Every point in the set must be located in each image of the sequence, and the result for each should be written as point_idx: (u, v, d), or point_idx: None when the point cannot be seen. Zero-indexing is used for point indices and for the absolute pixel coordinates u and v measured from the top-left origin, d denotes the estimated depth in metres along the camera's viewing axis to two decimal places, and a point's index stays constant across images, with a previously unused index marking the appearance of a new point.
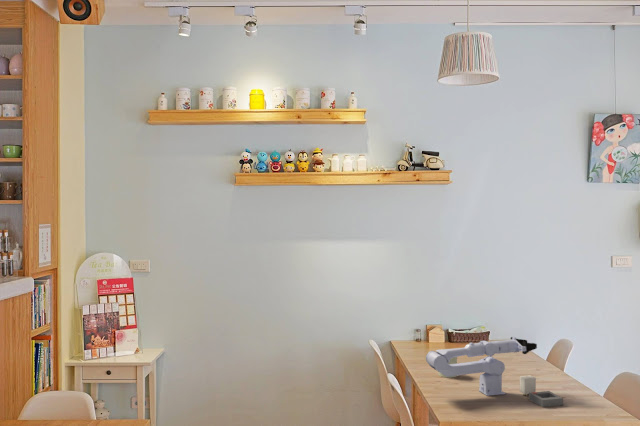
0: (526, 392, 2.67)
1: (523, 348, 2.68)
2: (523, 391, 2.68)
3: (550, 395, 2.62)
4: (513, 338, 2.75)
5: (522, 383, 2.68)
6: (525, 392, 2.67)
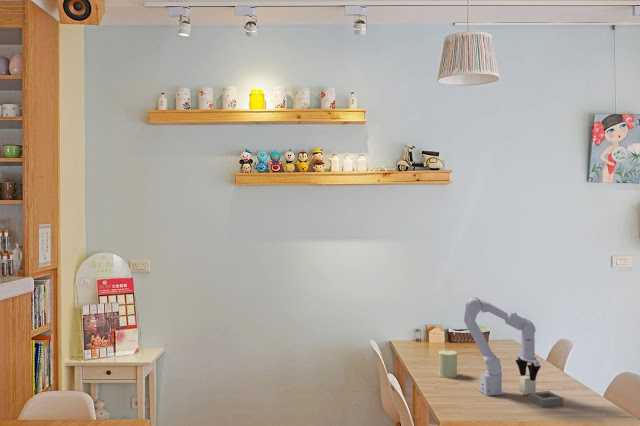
0: (526, 392, 2.67)
1: (538, 362, 2.62)
2: (523, 391, 2.68)
3: (550, 395, 2.62)
4: None
5: (522, 383, 2.68)
6: (525, 392, 2.67)
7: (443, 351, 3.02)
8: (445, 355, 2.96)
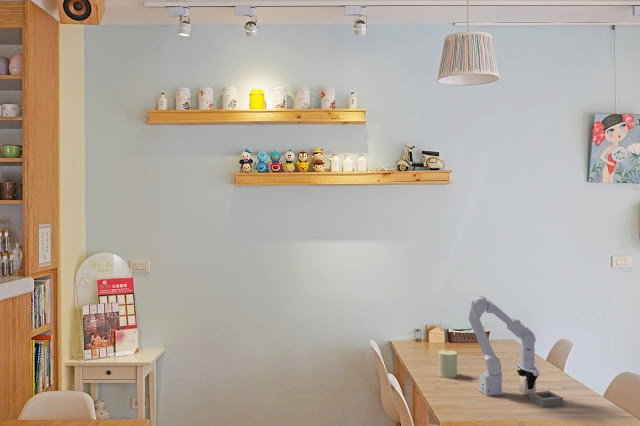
0: (526, 392, 2.67)
1: (537, 372, 2.62)
2: (523, 391, 2.68)
3: (550, 395, 2.62)
4: (534, 366, 2.70)
5: (522, 383, 2.68)
6: (525, 392, 2.67)
7: (443, 351, 3.02)
8: (445, 355, 2.96)
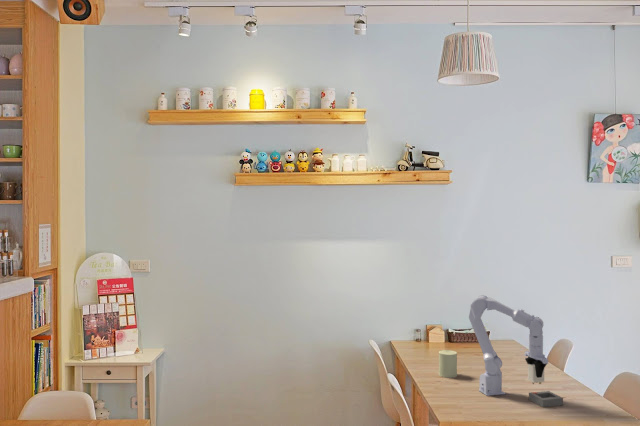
0: (535, 380, 2.62)
1: (546, 360, 2.57)
2: (531, 380, 2.63)
3: (550, 395, 2.62)
4: (542, 354, 2.65)
5: (531, 371, 2.63)
6: (534, 380, 2.62)
7: (443, 351, 3.02)
8: (445, 355, 2.96)
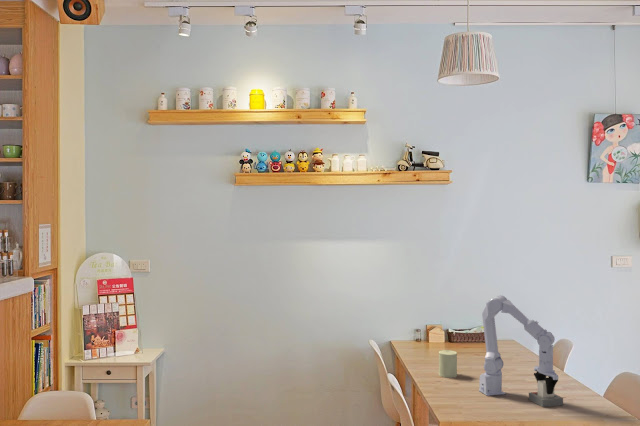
0: (544, 397, 2.57)
1: (556, 376, 2.52)
2: (541, 397, 2.58)
3: None
4: (552, 370, 2.60)
5: (541, 388, 2.58)
6: (543, 397, 2.57)
7: (443, 351, 3.02)
8: (445, 355, 2.96)
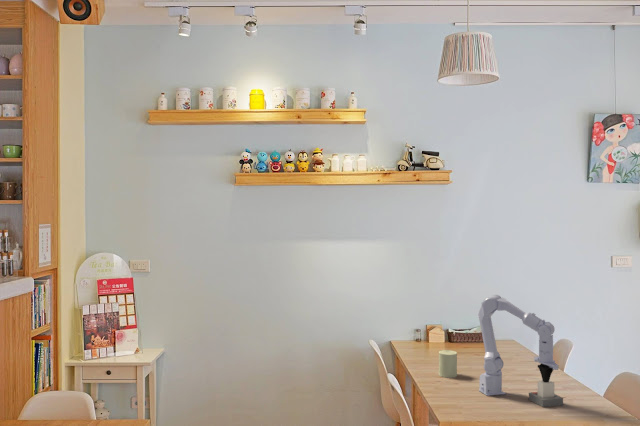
0: (544, 397, 2.57)
1: (557, 366, 2.52)
2: (541, 397, 2.58)
3: None
4: (552, 360, 2.60)
5: (541, 388, 2.58)
6: (543, 397, 2.57)
7: (443, 351, 3.02)
8: (445, 355, 2.96)
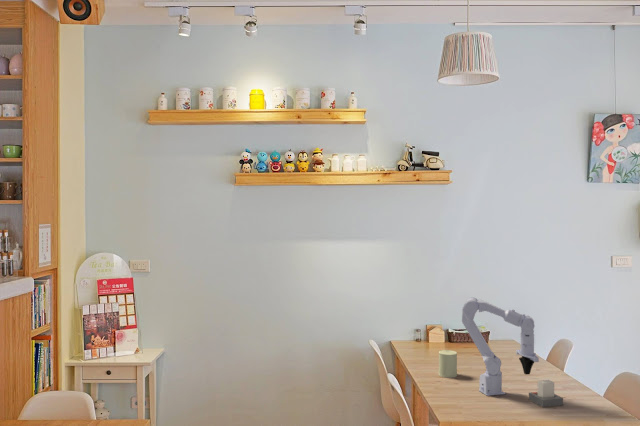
0: (544, 397, 2.57)
1: (537, 358, 2.61)
2: (541, 397, 2.58)
3: None
4: (533, 353, 2.68)
5: (541, 388, 2.58)
6: (543, 397, 2.57)
7: (443, 351, 3.02)
8: (445, 355, 2.96)
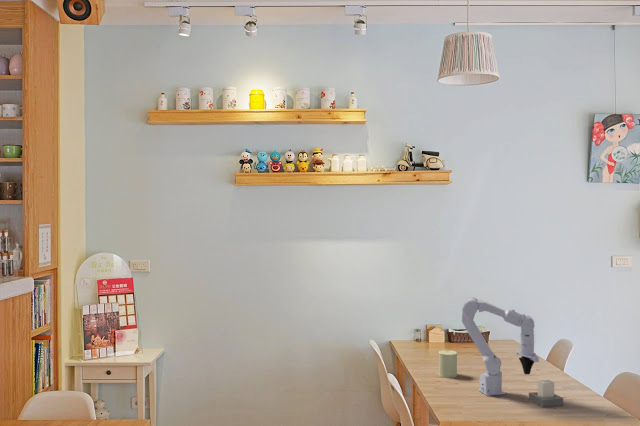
0: (544, 397, 2.57)
1: (537, 358, 2.61)
2: (541, 397, 2.58)
3: None
4: (533, 353, 2.68)
5: (541, 388, 2.58)
6: (543, 397, 2.57)
7: (443, 351, 3.02)
8: (445, 355, 2.96)
